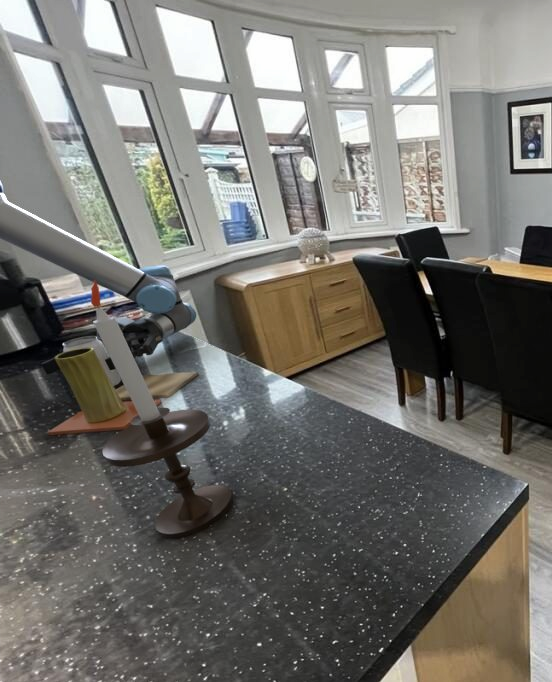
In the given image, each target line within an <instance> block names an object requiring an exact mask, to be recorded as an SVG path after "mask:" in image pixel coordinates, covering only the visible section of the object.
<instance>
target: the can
mask: <svg viewBox="0 0 552 682" xmlns="http://www.w3.org/2000/svg"><path fill="white" fill-rule="evenodd" d="M62 346H63V352H66V351H69V350H73V349H78V348H86V347H89V348H93V350H94V352H95V354H96V355H97V357H98V359H99V361H100V363H101V365H102V367H103V369H104V370H105V372H106V374H107V376H108V378H109V380H110V381H111V383H112V385H113V387H114V388H115V387H116V386H118V385H119V384H120V383H121V382H122V380H121V378H120V376H119V374H118V371H117V369H114V370H109V368H108V366H107V364H106V362H105V359H107V358H109V357H110V355H109V353H108V351H106V349H105V347H104V345H103V343H102V342H101V341H100V340H98V337H97V335H88V336H87V335H85V336H81V337H77V338H73V339H69V340H67V341H65V342H63V343H62Z"/></svg>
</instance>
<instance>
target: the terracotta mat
mask: <svg viewBox="0 0 552 682" xmlns="http://www.w3.org/2000/svg"><path fill="white" fill-rule="evenodd" d="M153 400H154V402H155V404H156V406H157V407H158V406H159V405H160V404H161V403H162V400H161V398H156V399H153ZM122 402H123V404H124V405H125V406H126V410H125V411H124V412H123V413H122V414H120V415H119V416H117V417H114V418H112V419H109V420H106V421H102V422H97V423H89V422H87V421H86V419H85V416H84V414H83V412H82V410H81V411H79V412H77V413H76V414H74V415H73V416H71V417H69V418H68V419H65V420H64V421H63V422H61V423H60V424H58V425H57V426H55V427H53V428H52V429H50V430H48V431H47V434H48V435H49V436H58V435H60V436H61V435H70V434H71V435H72V434H84V433H85V434H86V433H97V432H110V431H111V432H112V431H123V430H124V429H126V428H128V427H130V426H132V424H131V423H130V421H131V420H132V419H133V418H134V417H135V416H137V415H139V414H138V412H137V410H136V408H135V406H134V404H133V402H132V400H129V401H122Z"/></svg>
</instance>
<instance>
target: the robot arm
mask: <svg viewBox="0 0 552 682" xmlns="http://www.w3.org/2000/svg"><path fill="white" fill-rule="evenodd" d="M0 240H2V241H5V242H7V243H9V244H11V245H13V246H16V247H17V248H19V249H22V250H24V251H26V252H27V253H30V254H32V255H35V256H36V257H38V258H41V259H43V260H45V261H47V262H49V263H51V264H54V265H56V266H58V267H60V268H61V269H64V270H66V271H68V272H71V273H73V274H75V275H78V276H79V277H82V278H83V279H85V280H88V281H90V282H91V283H94V280H95V281H96V283H97V285H98V286H101V287H102V288H105V289H107V290H109V291H110V292H113V293H116V294H118V295H120V296H122V297H124V298H126V299H128V300H129V301H132V302H134V303H136V304H137V305H138V306H139V307H140V308H141V309H142V310H143V311H145V312H147V313H149V314H147V315H145V316H142V317H141V318H138V319H136V320H133V321H134V322H132V323H130V324H127V325H126V326H125V327H124V328H123V331H122V334H123V336H124V338H125V340H126V342H127V345H128V347H129V349H130V351H131V353H132V355H133V357H134V359H136V358H138V357H142V356H143V355H146V356H150V355H152V354H154V352H155V350H156V349H157V348H158V345H159V344H161V343H163V342H164V341H165V339H167V338H169V337H171V336H173V335H174V334H177V333H178V332H180V331H182V330H185V329H187V328H188V327H189V326H191V325H192V324H193V323H194V322H195V321H196V319H197V312H196V310H195V308H193V307H192V305H191V304H189V303H187V302H184V301H183V299H182V297H181V295H180V292H179V288H178V286H177V284H176V281H175V278H174V275H173V274H172V272H171V269H170V267H169V266H167V265H161V264H159V265H150V266H144V267H141V268H136V267H135V266H132V265H130V264H129V263H127V262H125V261H123V260H121V259H120V258H117V257H115V256H113V255H112V254H109V253H108V252H106V251H103V250H102V249H100V248H98V247H96V246H95V245H93V244H90V243H88V242H86V241H84V240H82V239H81V238H78V237H77V236H75V235H73V234H71V233H69V232H67V231H65V230H63V229H61V228H59V227H57V226H55V225H54V224H52V223H50V222H48V221H46V220H44V219H42V218H40V217H38V216H37V215H35V214H32V213H31V212H29V211H27V210H25V209H23V208H21V207H19V206H17V205H15V204H13V203H12V202H9V201H8V199H7V196H6V195H5V194H4V186H3V182H2V181H1V180H0ZM97 339H98V340H100V341H101V342H102V343H103V341H102V339H101V338H98V337H97ZM103 345H104V343H103ZM104 347H105V345H104ZM63 349H64V348H63ZM63 349H60V350H59V354H61V353H63ZM105 349H106V347H105ZM106 351H107V349H106ZM107 352H108V351H107ZM105 362H106V364H107V366H108V368H109V370H114V369H116V367H115V365H114V363H113V361H112V359H111V357H110V356H109V358H107V359H105ZM40 365H41V367H42V369H43V370H44V373H45V374H46V375H51V374H54V373H56V372H58V371H61V369H60V367H59V366H58V364H57V362H56V360H55V357H53V358H50V359H48V360H45V361H44V362H42V363H40ZM116 370H117V369H116Z"/></svg>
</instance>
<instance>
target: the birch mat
mask: <svg viewBox="0 0 552 682" xmlns="http://www.w3.org/2000/svg"><path fill="white" fill-rule="evenodd" d="M198 375H199V371H186V372H171V373H156V374H143V375H142V377H143V379H144V381H145V383H146V385H147V387H148V389H149V391H150V394H151V396H152V398H153V399H164V398H165V399H166V398H170V397H171V396H172V395H173V394H174V393H176V392H177V391H179V390H180V389H181V388H183V387H184V386H185V385H187V384H188V383H189V382H191V381H192V380H193V379H195V378H196V377H197V376H198ZM115 390H116V392H117V393H118V395H119V397H120V398H121V400H122V402H125V401H132V400H131V398H130V396H129V394H128V392H127V390H126V388H125V386H124V384H123V385H120V386H119V387H117V388H115Z"/></svg>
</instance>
